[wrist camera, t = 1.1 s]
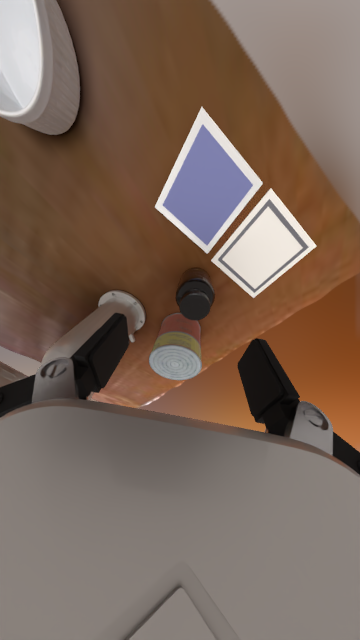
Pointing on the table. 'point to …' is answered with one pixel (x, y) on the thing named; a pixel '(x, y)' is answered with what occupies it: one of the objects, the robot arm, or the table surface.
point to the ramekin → (37, 66)
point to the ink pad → (207, 184)
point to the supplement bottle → (195, 294)
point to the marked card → (263, 246)
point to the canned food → (177, 348)
